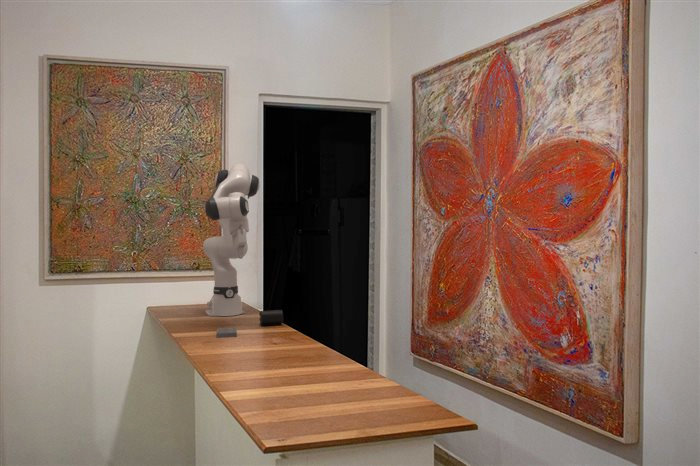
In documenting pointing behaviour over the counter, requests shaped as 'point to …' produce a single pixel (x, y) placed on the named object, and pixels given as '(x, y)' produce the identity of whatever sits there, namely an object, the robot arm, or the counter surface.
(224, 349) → the counter surface
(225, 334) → the slate tile
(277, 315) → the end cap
